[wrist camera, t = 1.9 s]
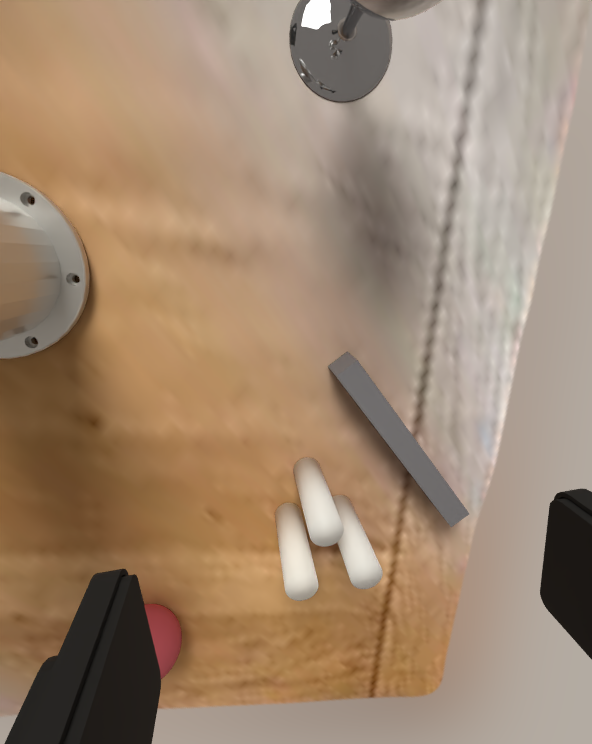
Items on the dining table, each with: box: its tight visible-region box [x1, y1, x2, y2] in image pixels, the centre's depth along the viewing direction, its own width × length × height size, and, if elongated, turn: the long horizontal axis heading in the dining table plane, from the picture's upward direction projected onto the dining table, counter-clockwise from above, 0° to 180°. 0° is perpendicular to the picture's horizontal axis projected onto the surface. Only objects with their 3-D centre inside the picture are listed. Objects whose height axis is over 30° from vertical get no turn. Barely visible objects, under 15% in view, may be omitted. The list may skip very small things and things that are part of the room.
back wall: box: [328, 352, 469, 527], centre depth 34 cm, size 18×2×3 cm, turn 37°
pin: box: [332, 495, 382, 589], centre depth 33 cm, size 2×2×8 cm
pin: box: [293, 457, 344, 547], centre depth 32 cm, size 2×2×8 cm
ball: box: [144, 604, 182, 679], centre depth 35 cm, size 6×6×6 cm
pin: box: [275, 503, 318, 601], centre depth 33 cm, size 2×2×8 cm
